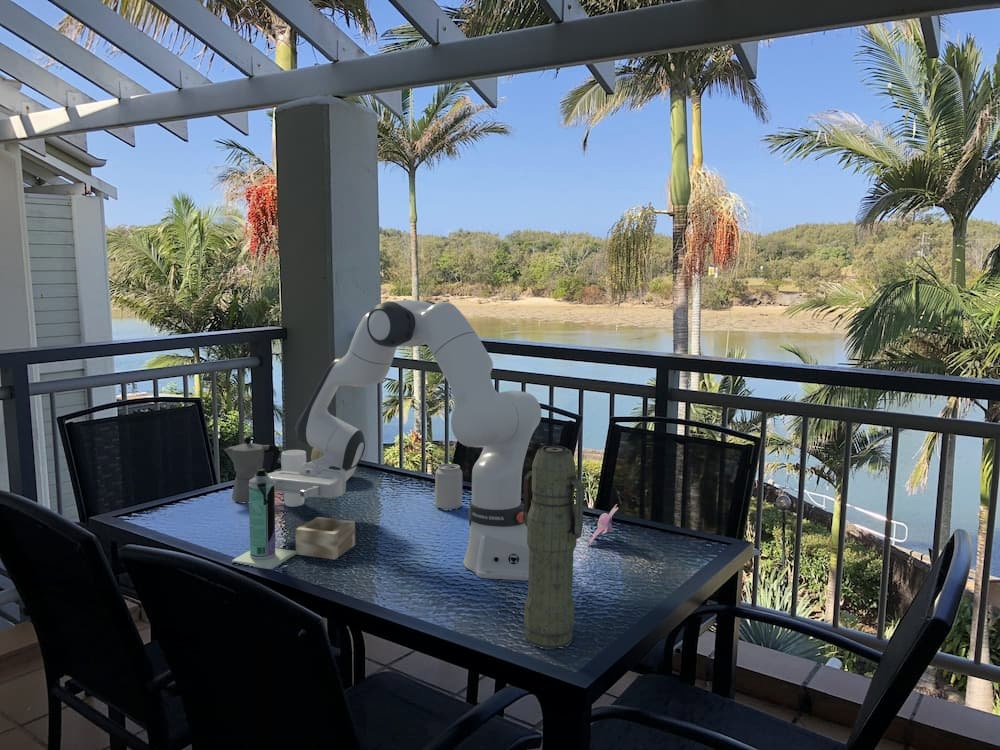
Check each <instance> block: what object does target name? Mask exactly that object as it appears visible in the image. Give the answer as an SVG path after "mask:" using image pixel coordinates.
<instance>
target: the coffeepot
mask: <svg viewBox="0 0 1000 750" xmlns="http://www.w3.org/2000/svg"><path fill="white" fill-rule="evenodd" d="M251 439H252V438H251V437H250V436H247V437H244V440H245V442H244V443H241V444H237V445H233V446H228V447H225V448H224V449H223V451H224V452H225V453H226V454H227V456H228V457H229V458H230V460H231V461H232V464H233V468H234V470H233V471H235V478H234V484H233V488H232V489H233V491H232V496H231V499H232V501H233V500H234V501H235V502H234V501H233V502H234V503H237V502H245V503H244V504H249V503H248V502H249V483H250V482H249V480H250V479H252V478H254V477H255V475H256V474H257V471H258V470H259V469H263V466H264V459H265V453H269V452H273V455H272V459H271V460H272V461H271V463H270V469H267V470H266V469H265V473H266V474H268V473H272V472H275V471H276V466H277V464H278V462H279V461H278V460H279V458H280V455H281V450H280V448H278V447H277V446H276V444H259V443H253V442H251Z"/></svg>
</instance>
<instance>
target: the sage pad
mask: <svg viewBox="0 0 1000 750" xmlns="http://www.w3.org/2000/svg"><path fill="white" fill-rule="evenodd" d="M295 555H297V554H296V550H291V549H284V548H276V547H275V556H274V557H273V558H271V559H267V560H254V559H252V558H251V557H250V550H248V551H246V552H244V553H243V554H241V555H239V556H237V557H235V558H233V559H232V560H231V563H232V562H237V563H240V564H244V565H249V566H248V567H251V566H253V568H259V569H267V570H273V569H274V568H276V567H278V566H279V565H281V564H282V563H284V562H286V561H287V560H289V559H291V558H292V557H294V556H295ZM244 565H243V566H244Z"/></svg>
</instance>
